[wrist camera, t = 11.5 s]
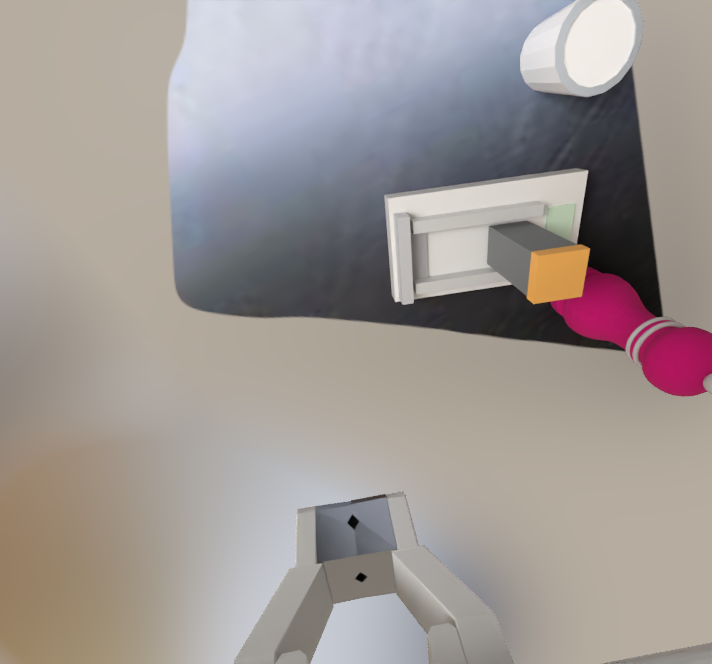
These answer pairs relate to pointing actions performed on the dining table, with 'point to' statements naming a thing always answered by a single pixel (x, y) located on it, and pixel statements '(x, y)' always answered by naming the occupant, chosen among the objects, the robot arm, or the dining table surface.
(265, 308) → the dining table surface
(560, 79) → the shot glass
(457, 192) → the white slider switch base
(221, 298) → the dining table surface
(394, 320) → the dining table surface
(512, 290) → the dining table surface
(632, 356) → the pepper mill
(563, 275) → the plate
